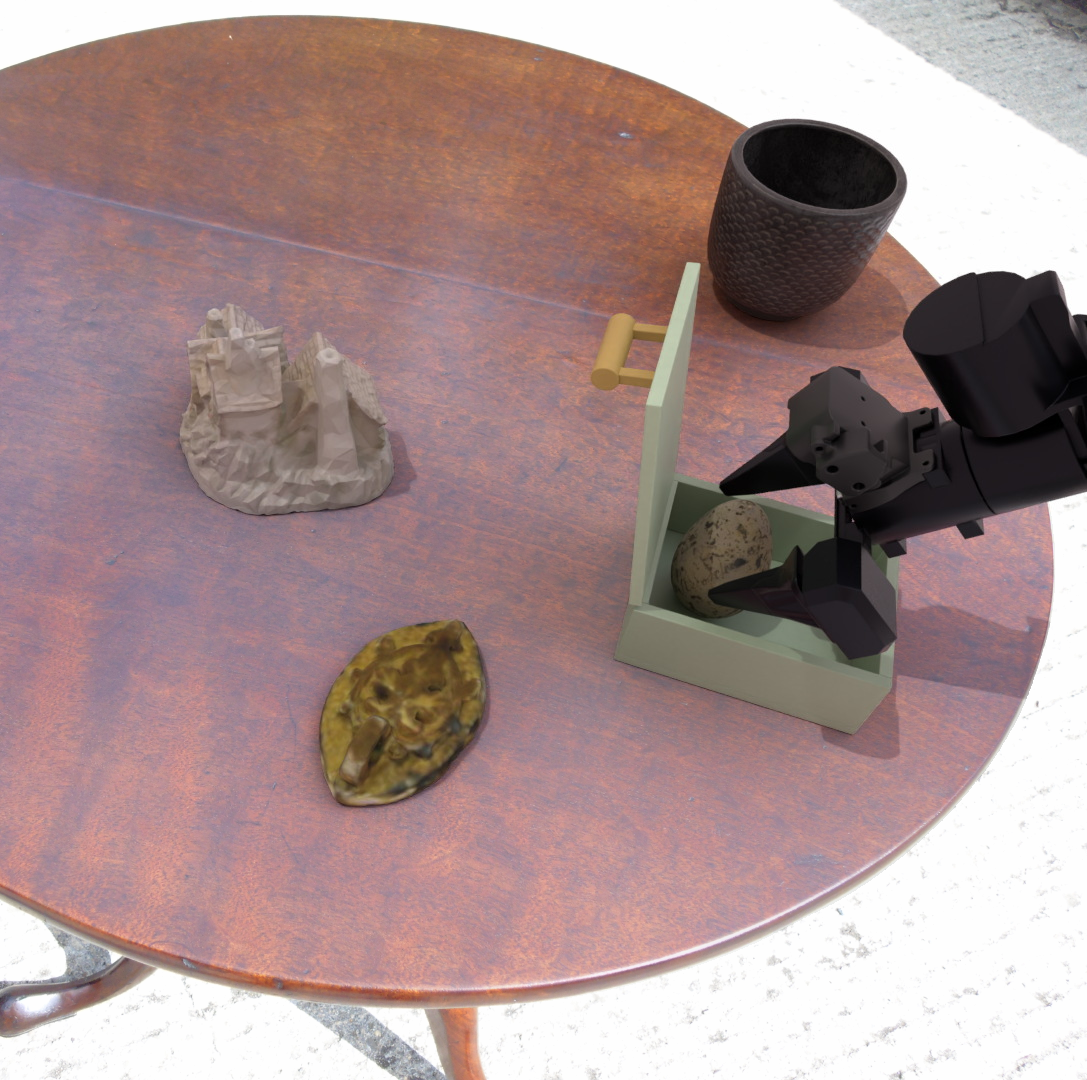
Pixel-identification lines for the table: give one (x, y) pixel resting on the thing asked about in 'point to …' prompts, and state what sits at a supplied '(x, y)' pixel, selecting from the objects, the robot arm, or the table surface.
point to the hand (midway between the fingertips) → (716, 541)
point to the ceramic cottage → (281, 421)
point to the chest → (753, 627)
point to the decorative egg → (720, 554)
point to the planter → (800, 215)
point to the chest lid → (652, 411)
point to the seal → (401, 712)
